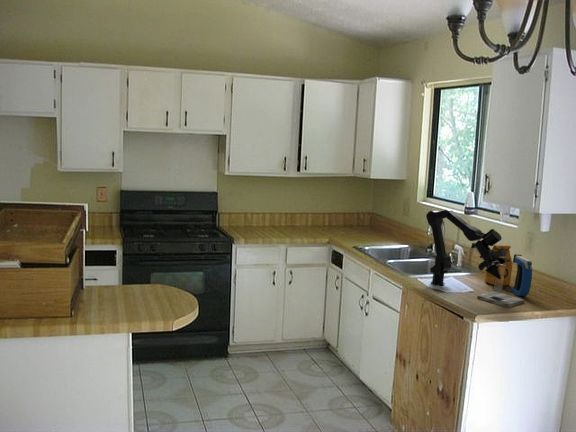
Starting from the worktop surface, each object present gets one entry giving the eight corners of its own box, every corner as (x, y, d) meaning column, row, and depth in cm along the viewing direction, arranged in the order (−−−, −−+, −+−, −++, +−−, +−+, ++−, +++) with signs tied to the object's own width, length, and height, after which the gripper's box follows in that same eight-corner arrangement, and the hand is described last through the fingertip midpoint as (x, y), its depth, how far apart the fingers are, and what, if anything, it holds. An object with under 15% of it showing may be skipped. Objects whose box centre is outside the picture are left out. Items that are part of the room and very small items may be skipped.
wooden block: (493, 289, 288) (497, 263, 286) (500, 290, 288) (504, 264, 286) (495, 291, 285) (498, 265, 283) (502, 292, 284) (506, 266, 282)
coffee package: (512, 286, 320) (518, 247, 317) (492, 286, 317) (498, 246, 314) (501, 281, 330) (507, 243, 327) (482, 281, 327) (487, 242, 323)
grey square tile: (477, 298, 290) (477, 295, 290) (494, 294, 301) (494, 291, 301) (507, 307, 278) (507, 304, 278) (524, 302, 289) (524, 299, 289)
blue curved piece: (516, 290, 313) (521, 254, 310) (529, 299, 297) (534, 261, 294) (508, 289, 313) (512, 253, 310) (520, 298, 297) (525, 260, 294)
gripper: (487, 243, 280) (505, 271, 273) (506, 241, 292) (524, 268, 286) (470, 256, 286) (487, 283, 280) (490, 253, 299) (507, 279, 293)
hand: (502, 278), depth 284 cm, fingers closed on wooden block, 4 cm apart
